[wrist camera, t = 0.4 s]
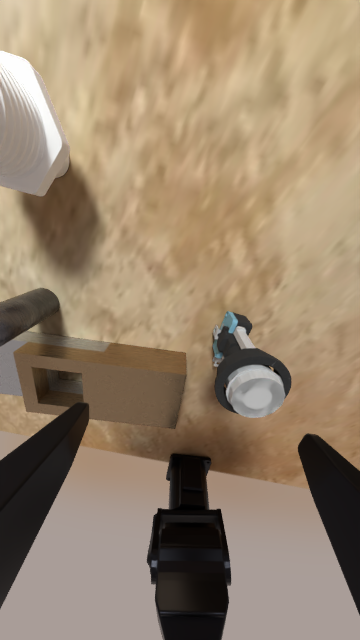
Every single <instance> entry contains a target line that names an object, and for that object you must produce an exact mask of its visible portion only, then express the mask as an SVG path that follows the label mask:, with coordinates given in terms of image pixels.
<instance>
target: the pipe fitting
mask: <svg viewBox="0 0 360 640" xmlns="http://www.w3.org/2000/svg"><path fill="white" fill-rule="evenodd" d="M69 152H70V147H69V143H68V141H67V138H66V136H65V133H64V131H63V128H62V126H61V123H60V121H59V118H58V116H57V114H56V111H55V109H54V106H53V104H52V101H51V99H50V96H49V94H48V91H47V89H46V86H45V84H44V81H43V79H42V77H41V75H40V74H39V73H38V72H37V71H36V70H35V69H34V68H33V67H32V65H31V64H30V63H29V62H28V61H27V60H26V59H24V58H22V57H19V56H16V55H13V54H10V53H6V52H3V51H0V186H3V187H7V188H10V189H14V190H18V191H21V192H25V193H29V194H32V195H36V196H41V197H42V196H44V195H45V194H46V193H47V191H48V189H49V187H50V186H51V184H52V182H53V181H54V179H55V178H59V177H61V176H63V175H64V174H65V173H66V172H67V170H68V167H69Z"/></svg>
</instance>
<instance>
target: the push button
mask: <svg viewBox="0 0 360 640" xmlns="http://www.w3.org/2000/svg"><path fill="white" fill-rule="evenodd" d="M215 329H216V331H215ZM251 329H252V324H251V323H250V321H249V320H248V319H247V318H246V316H243V315H239V314H236V313H232V312H229V311H227V313H226V315H225V318H224V320H223V322H222V325H221V327H220V329H219V330H218V326H217V325H216V326H215V328H214V330H213V335H214V337H215V341H214V343H213V350H214V353H215V356H214V358H213V361H214V362H215V363H214V366H216V367H217V377H216V380H215V393H216V397H217V399H218V401H219V402H220V404H221V405H222V406H223V407H225V408H226V409H227V410H229V411H231V412H234V413H237V414H240V415H242V416H245V417H251V418H255V417H264V416H266V415H268V414H271V413H273V412H275V411H276V410H277V409H278V408H279V407H280V406H281V405H282V403H283V401H284V399H285V398H286V396H287V395H288V393H289V391H290V388H291V376H290V373H289V371H288V369H287V368H286V367H285V365H284V364H283V363H282V362H281V361H280V360H278V359H276V358H275V357H273V356H271V355H269V354H267V353H266V352H264V351H262V350H260V349H258V348H255V347H254V345H253V343H252V342H251V340H250V339H249V337H248V335H249V333H250V331H251ZM215 358H217V359H215ZM218 362H220V364H216V363H218ZM269 366H271V367H273V368H274V372H273V371H272V370H271V368H270V367H269ZM224 384H226V387H227V389H226V388H225V387H224Z"/></svg>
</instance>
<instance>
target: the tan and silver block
mask: <svg viewBox="0 0 360 640" xmlns="http://www.w3.org/2000/svg"><path fill="white" fill-rule="evenodd" d="M58 370H59V371H67V372H75V373H82V382H80V381H72V380H64V379H59V373H58ZM185 379H186V353H183V352H175V351H168V350H161V349H153V348H146V347H139V346H131V345H124V344H117V343H109V342H102V341H95V340H87V339H80V338H73V337H65V336H58V335H51V334H43V333H36V332H29V331H25V332H24V333H22V334H20V335H19V336H17V337H16V338H14V339H12V340H11V341H9V342H7V343H6V344H4V345H3V346H1V347H0V393H1V394H10V395H18V396H23V398H24V403H25V407H26V412H35V413H43V414H52V415H61V414H62V413H63V412H65V411H66V410H67V409H69V408H70V407H71V406H73V405H74V404H75V403H77V402H86V403H88V404H89V419H95V420H103V421H112V422H121V423H129V424H138V425H146V426H155V427H164V428H172V429H175V427H176V423H177V418H178V413H179V408H180V403H181V398H182V394H183V389H184V384H185Z"/></svg>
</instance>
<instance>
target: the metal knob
mask: <svg viewBox="0 0 360 640" xmlns="http://www.w3.org/2000/svg"><path fill="white" fill-rule="evenodd" d="M58 309H59V300H58V298H57V297H56V295H55V294H54V293H53V292H51V291H50V290H48V289H44V288H38V289H35V290H32V291H30V292H27V293H24V294H22V295H19V296H16V297H14V298H11V299H8V300H6V301H3V302H0V347H1V346H3V345H4V344H6V343H7V342H9V341H11V340H12V339H14V338H16V337H17V336H19V335H20V334H22V333H24V332H25V331H27V330H28V329H30V328H32V327H33V326H35V325H37V324H38V323H40V322H41V321H43V320H45V319H46V318H48V317H50V316H51V315H53V314H54V313H56V312H57V311H58Z"/></svg>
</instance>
